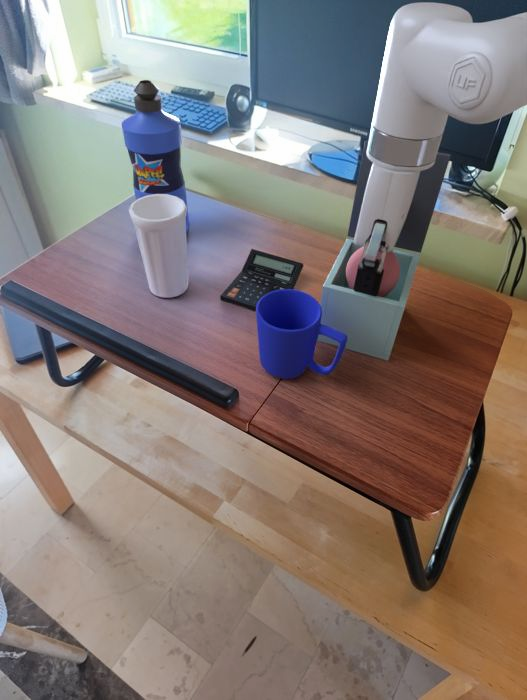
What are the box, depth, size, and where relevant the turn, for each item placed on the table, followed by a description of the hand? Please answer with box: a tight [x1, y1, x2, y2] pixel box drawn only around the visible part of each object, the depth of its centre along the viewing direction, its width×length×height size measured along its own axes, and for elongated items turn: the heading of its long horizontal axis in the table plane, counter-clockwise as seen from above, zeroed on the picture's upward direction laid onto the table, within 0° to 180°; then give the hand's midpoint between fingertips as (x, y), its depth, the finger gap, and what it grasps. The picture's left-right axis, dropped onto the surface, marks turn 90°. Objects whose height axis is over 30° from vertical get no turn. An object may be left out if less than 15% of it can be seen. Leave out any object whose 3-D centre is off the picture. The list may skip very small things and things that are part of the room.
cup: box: [128, 194, 189, 299], centre depth 72 cm, size 8×8×14 cm
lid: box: [346, 139, 451, 253], centre depth 66 cm, size 14×11×5 cm
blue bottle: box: [121, 79, 190, 233], centre depth 81 cm, size 9×9×25 cm
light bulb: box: [346, 245, 400, 297], centre depth 66 cm, size 7×7×12 cm
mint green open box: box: [317, 237, 421, 361], centre depth 69 cm, size 13×11×10 cm
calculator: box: [219, 248, 304, 312], centre depth 77 cm, size 9×12×3 cm
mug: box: [255, 289, 348, 380], centre depth 62 cm, size 8×12×10 cm
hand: (372, 275), depth 64 cm, fingers closed on light bulb, 7 cm apart
